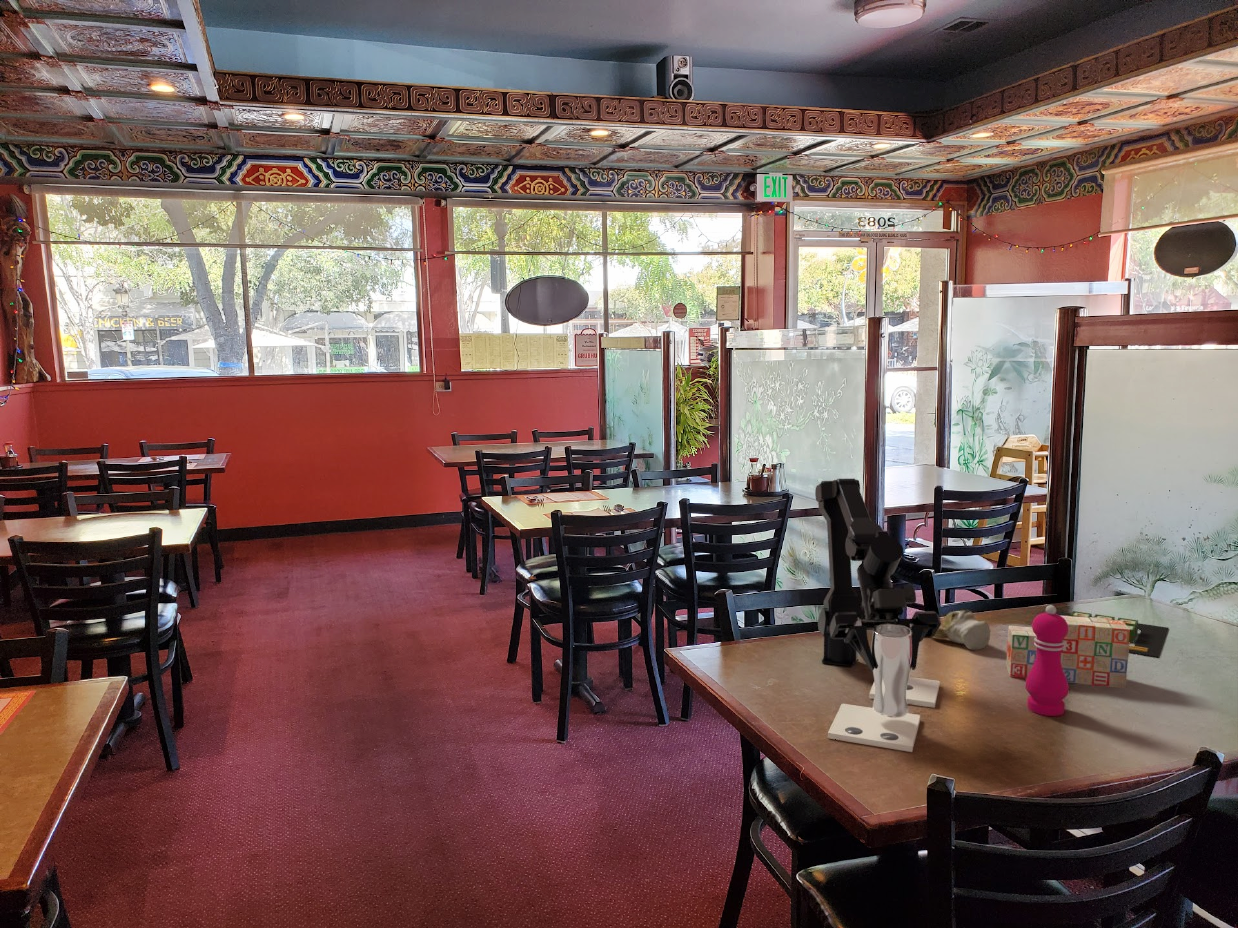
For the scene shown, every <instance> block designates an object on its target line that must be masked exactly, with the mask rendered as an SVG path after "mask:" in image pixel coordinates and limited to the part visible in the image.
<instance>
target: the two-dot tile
mask: <svg viewBox="0 0 1238 928" xmlns="http://www.w3.org/2000/svg"><path fill="white" fill-rule="evenodd" d="M920 723H921V714H916V713H915V714H914V713H910V712H908V713H907V714H906V715H905V716H903V717H898V718H890V717H884V716H881V715H879V714H877V713H875V712H874V710H873V708H872V707H868V706H863V705H862V706H861V705H854V704H848V703H841V705H840V706H839V709H838V710H837V713H836V715H835V717H834V719H833V721H832V723H831V726H830V728H829V730H828V732H827V739H831V740H835V739H836V741H841V742H848V743H854V744H861V745H866V746H872V747H878V748H885V749H892V750H896V751H903V752H909V753H913V750H914V746H915V743H916V738H917V734H918V731H919V727H920Z"/></svg>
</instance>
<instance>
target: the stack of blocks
mask: <svg viewBox="0 0 1238 928" xmlns="http://www.w3.org/2000/svg"><path fill="white" fill-rule="evenodd" d="M1061 617H1063V618H1064V619H1065V620H1066V622H1067V624H1068V634H1067V635H1066V637H1064V638H1063V641H1064V649H1063V650H1061V665H1062V669H1063V672H1064V674H1065V676H1066V679H1067V682H1068V684H1069V683H1071V684H1081V685H1090V686H1091V685H1092V686H1101V687H1110V688H1119V689H1120V688H1121V689H1126V688H1127V687H1126V685H1127V676H1128V675H1127V673H1128V663H1129V655H1130V653H1129V645H1130V643H1129V633H1130V629H1129V628H1128V627H1127V625H1126V624H1125V623H1124V622H1123V621H1121V620H1118V619H1115V620H1109V619H1105V618H1094V616H1092V617H1089V618H1087V617H1072V616H1061ZM1035 637H1037V636H1036V635H1035V633H1034V632H1033V629H1032V626H1018V625H1008V631H1007V641H1006V642H1007V643H1006V644H1007V645H1006V669H1007V672H1008V675H1009V677H1011V678H1020V679H1027V676H1028V674H1029V672H1030V670H1031V668H1032V666H1033V664H1034V662H1035V659H1036V653H1037V650H1036V646H1035V645H1034V643H1035V640H1034V638H1035Z"/></svg>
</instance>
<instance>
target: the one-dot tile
mask: <svg viewBox="0 0 1238 928" xmlns="http://www.w3.org/2000/svg"><path fill="white" fill-rule="evenodd" d="M940 684H941V683H940V681H939V680H933V679H927V678H919V677H913V676H911V677H910V676H909V680H908V684H907V690H906V699H907V705H913V706H920V707H925V708H927V707H928V708H933V709H935V708H936V705H937V700H938V699H937V698H938V695H939V690H940ZM868 697H869V698H868V699H870V700H871V699H872V700H874V697H875V681H873V684H872V686H871V688H870V690H869V695H868Z"/></svg>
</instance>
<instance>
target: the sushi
mask: <svg viewBox="0 0 1238 928" xmlns="http://www.w3.org/2000/svg"><path fill="white" fill-rule="evenodd" d="M1055 614H1058V615H1060V616H1072V617H1087V618H1089V617H1094V618H1105V619H1109V620H1116V619H1115V616H1109V615H1104V614H1103V615H1102V614H1096V613H1095V614H1094V616H1093V614H1092V613H1089V612H1083V611H1082V612H1081V611H1075V610H1073V611H1072V612H1071V613H1069V612H1065V611H1057V610H1056V613H1055ZM1117 620H1121V621H1123V622H1124V623H1125V624H1126V625H1127V627H1128V628H1129V629H1130V633H1129V642H1130V643H1129V655H1130V654H1131V655H1136V654H1137V656H1143V657H1148V658H1156V659H1159V656H1160V654H1161V652H1162V648H1163V646H1162V645H1164V643H1165V640H1166V637H1167V634H1168V631H1169V627H1168V626H1160V625H1159V626H1158V625H1153V624H1147V623H1146V624H1145V623H1140V622H1139V620H1138V619H1137V620H1136V619H1132V618H1124V617H1118V618H1117ZM1138 629H1139V630H1138ZM1138 631H1139V632H1140V633H1139V635H1138ZM1137 635H1138V636H1137ZM1135 637H1136V638H1137V639H1136V638H1135ZM1134 639H1136V641H1135V640H1134ZM1133 641H1134V642H1135V643H1134V642H1133ZM1130 644H1134V645H1130Z"/></svg>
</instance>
